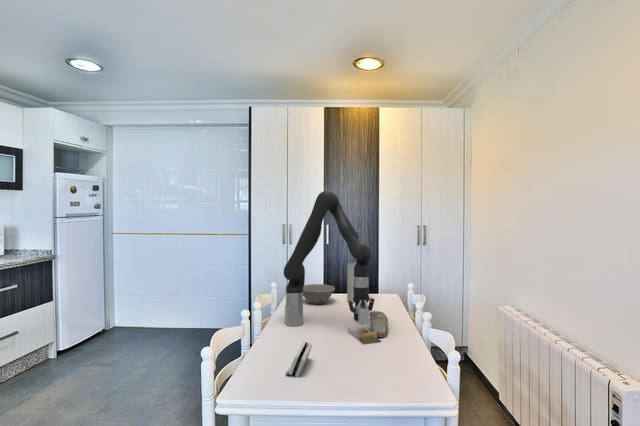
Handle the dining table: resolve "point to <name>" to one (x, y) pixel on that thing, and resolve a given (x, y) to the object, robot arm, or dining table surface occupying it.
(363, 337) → the rail mount
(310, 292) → the ceramic bowl
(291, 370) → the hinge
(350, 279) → the cylinder vase
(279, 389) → the dining table surface
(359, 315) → the module
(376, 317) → the long grey stone
